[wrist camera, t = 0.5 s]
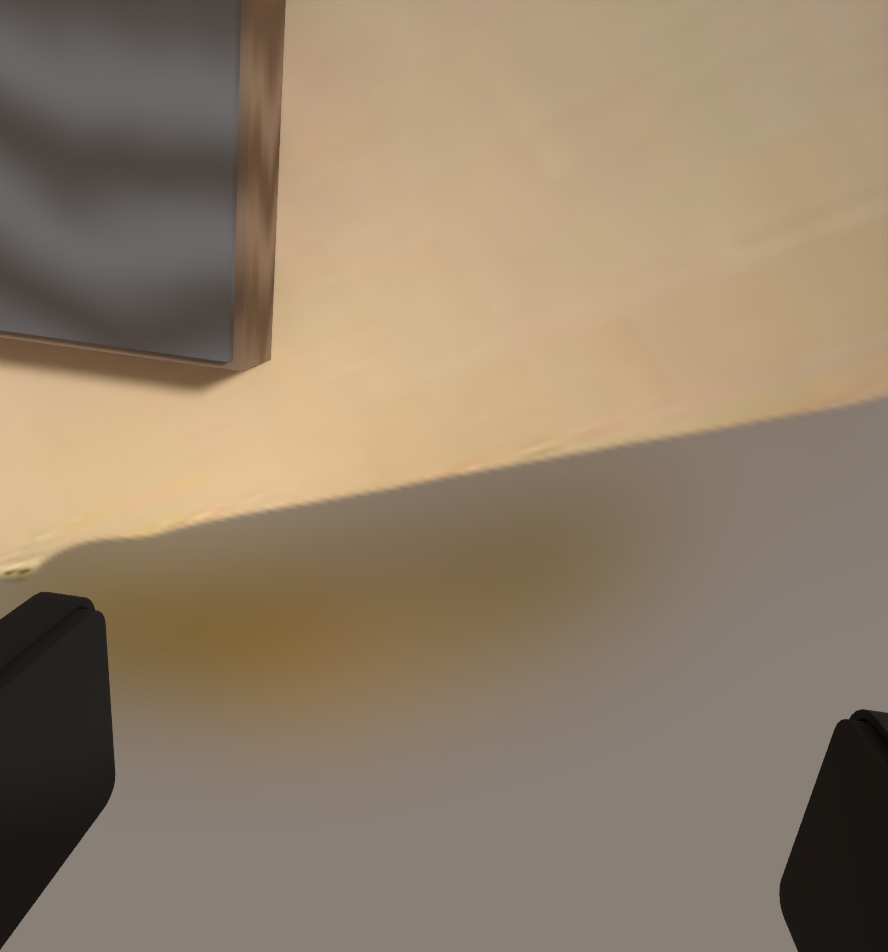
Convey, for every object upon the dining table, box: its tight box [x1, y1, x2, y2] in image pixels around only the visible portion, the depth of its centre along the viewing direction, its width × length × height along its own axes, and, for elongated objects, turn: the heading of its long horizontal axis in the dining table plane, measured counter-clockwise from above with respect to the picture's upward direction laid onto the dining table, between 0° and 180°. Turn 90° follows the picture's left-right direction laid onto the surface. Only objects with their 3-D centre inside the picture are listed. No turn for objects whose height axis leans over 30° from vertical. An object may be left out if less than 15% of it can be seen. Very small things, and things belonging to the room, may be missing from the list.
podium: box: [0, 0, 285, 371], centre depth 34 cm, size 20×20×5 cm
